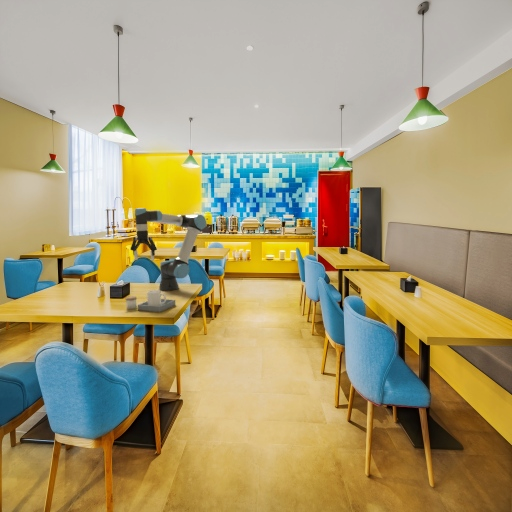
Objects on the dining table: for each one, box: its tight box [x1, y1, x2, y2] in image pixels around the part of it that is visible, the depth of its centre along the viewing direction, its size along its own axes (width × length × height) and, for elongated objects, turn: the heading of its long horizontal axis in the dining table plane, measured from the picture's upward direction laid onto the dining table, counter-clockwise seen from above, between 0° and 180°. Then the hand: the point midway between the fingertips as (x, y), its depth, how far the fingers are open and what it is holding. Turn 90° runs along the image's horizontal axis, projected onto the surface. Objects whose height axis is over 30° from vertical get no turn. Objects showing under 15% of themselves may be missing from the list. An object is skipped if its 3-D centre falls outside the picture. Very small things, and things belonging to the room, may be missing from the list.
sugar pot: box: [125, 295, 138, 310], centre depth 207 cm, size 7×7×7 cm
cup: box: [146, 289, 167, 306], centre depth 207 cm, size 8×12×10 cm
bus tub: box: [137, 298, 176, 313], centre depth 207 cm, size 17×17×4 cm
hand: (144, 260), depth 228 cm, fingers open, 13 cm apart
